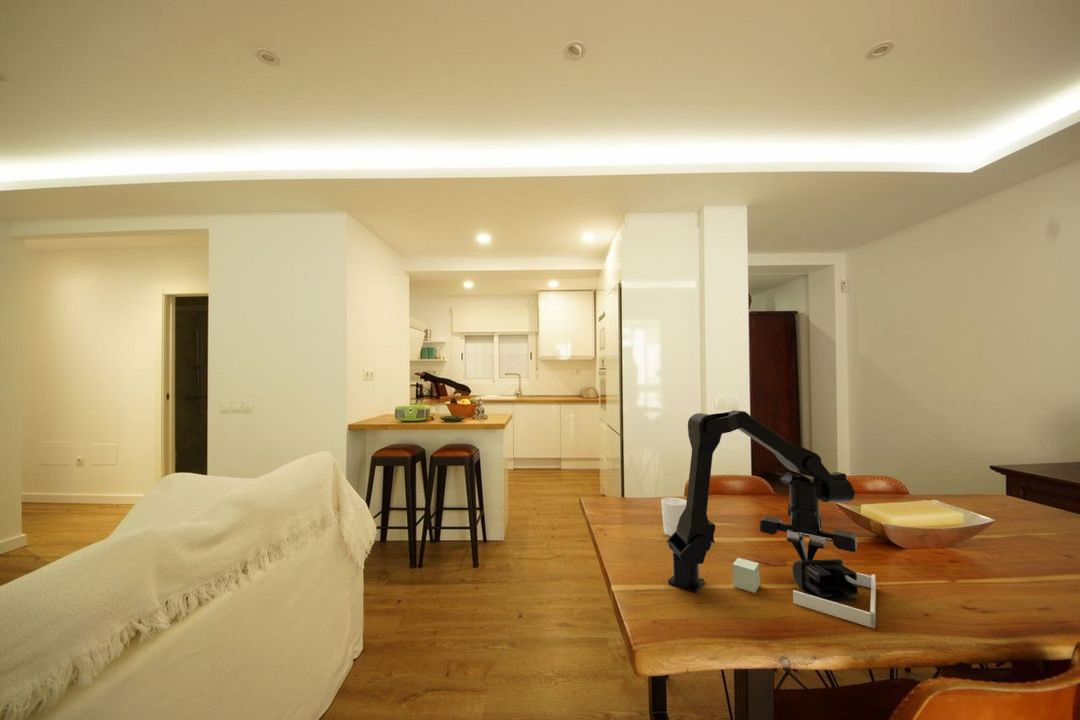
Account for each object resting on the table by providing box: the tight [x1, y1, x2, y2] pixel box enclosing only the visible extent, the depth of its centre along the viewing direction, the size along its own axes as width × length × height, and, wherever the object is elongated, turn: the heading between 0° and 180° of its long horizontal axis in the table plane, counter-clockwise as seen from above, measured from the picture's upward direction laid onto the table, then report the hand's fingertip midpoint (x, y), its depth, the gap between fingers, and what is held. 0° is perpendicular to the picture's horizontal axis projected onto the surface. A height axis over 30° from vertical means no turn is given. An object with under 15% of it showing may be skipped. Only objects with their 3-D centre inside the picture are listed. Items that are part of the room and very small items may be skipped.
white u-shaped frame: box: [792, 572, 877, 629], centre depth 85 cm, size 19×13×3 cm
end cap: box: [792, 558, 859, 603], centre depth 87 cm, size 10×7×7 cm
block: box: [732, 557, 761, 594], centre depth 90 cm, size 4×4×5 cm
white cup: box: [660, 496, 687, 537], centre depth 121 cm, size 8×8×10 cm
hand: (807, 569), depth 92 cm, fingers closed
